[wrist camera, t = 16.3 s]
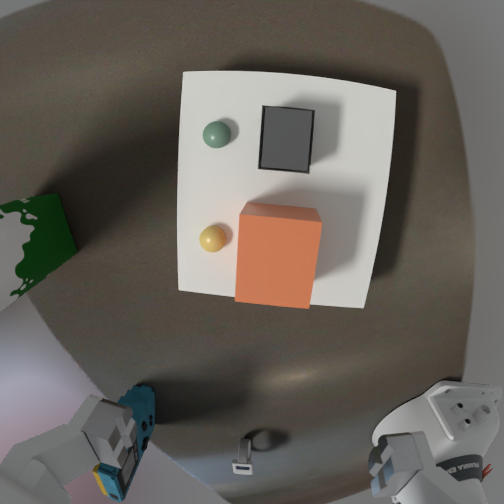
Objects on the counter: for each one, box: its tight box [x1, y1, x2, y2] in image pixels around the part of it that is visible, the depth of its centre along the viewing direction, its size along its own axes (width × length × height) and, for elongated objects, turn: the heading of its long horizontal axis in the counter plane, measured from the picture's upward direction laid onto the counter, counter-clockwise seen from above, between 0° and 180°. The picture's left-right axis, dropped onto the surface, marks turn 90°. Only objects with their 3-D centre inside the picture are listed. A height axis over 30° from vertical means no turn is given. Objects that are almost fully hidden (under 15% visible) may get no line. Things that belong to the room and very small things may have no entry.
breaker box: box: [177, 71, 396, 308], centre depth 24 cm, size 16×18×5 cm
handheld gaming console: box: [93, 384, 155, 502], centre depth 31 cm, size 10×4×15 cm, turn 168°
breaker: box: [261, 107, 312, 171], centre depth 21 cm, size 3×4×4 cm
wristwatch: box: [232, 438, 254, 475], centre depth 37 cm, size 6×3×5 cm, turn 2°
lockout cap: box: [235, 202, 322, 309], centre depth 22 cm, size 5×6×4 cm
